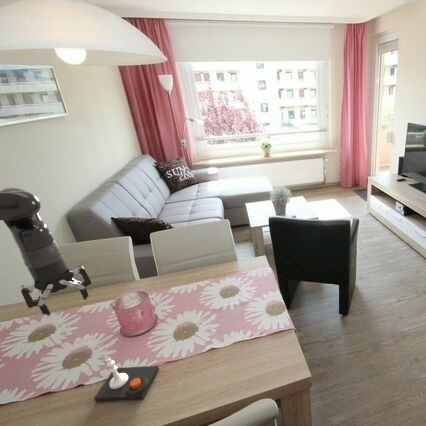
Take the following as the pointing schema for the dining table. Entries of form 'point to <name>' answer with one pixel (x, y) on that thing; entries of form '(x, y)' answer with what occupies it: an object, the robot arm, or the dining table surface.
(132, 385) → the button
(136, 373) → the dark grey flat block
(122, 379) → the chess piece
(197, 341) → the dining table surface
